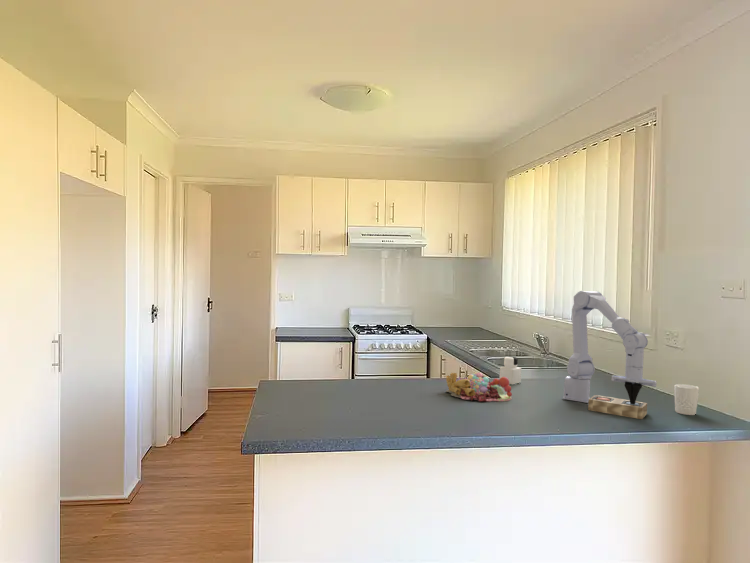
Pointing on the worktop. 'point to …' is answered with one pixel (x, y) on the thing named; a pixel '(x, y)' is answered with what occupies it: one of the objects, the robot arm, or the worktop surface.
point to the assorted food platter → (486, 391)
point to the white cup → (686, 399)
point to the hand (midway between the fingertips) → (632, 403)
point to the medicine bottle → (511, 370)
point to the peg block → (617, 407)
